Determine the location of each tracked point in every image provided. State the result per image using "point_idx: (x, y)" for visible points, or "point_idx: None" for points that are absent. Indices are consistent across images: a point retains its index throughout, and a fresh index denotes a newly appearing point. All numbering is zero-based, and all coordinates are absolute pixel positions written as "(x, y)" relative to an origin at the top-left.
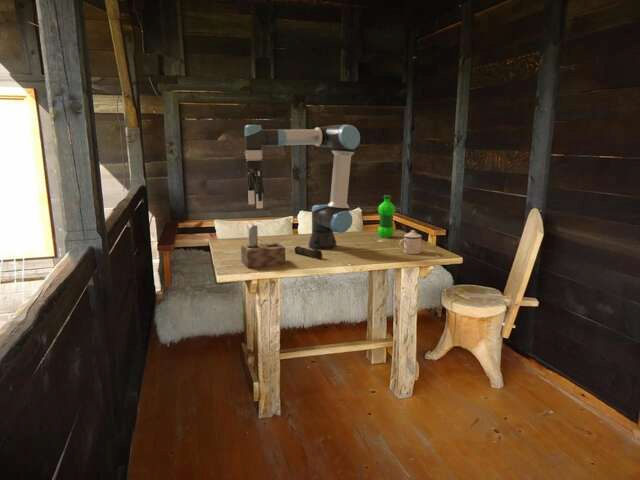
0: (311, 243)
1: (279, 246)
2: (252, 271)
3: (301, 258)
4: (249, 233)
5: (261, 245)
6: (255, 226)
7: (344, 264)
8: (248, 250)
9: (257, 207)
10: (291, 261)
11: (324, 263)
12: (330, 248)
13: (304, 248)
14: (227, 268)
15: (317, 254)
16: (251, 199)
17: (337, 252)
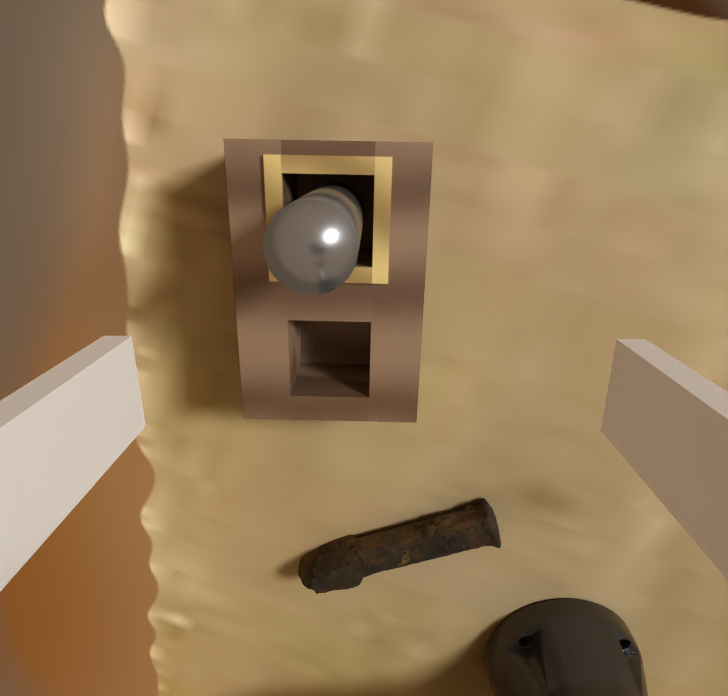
0: (559, 622)
1: (294, 397)
2: (169, 150)
3: (362, 486)
4: (303, 196)
5: (370, 295)
6: (280, 268)
7: (183, 604)
8: (234, 152)
9: (99, 346)
10: (319, 421)
11: (227, 542)
12: (486, 664)
13: (436, 549)
14: (287, 2)
15: (316, 563)
16: (654, 423)
17: (409, 661)
